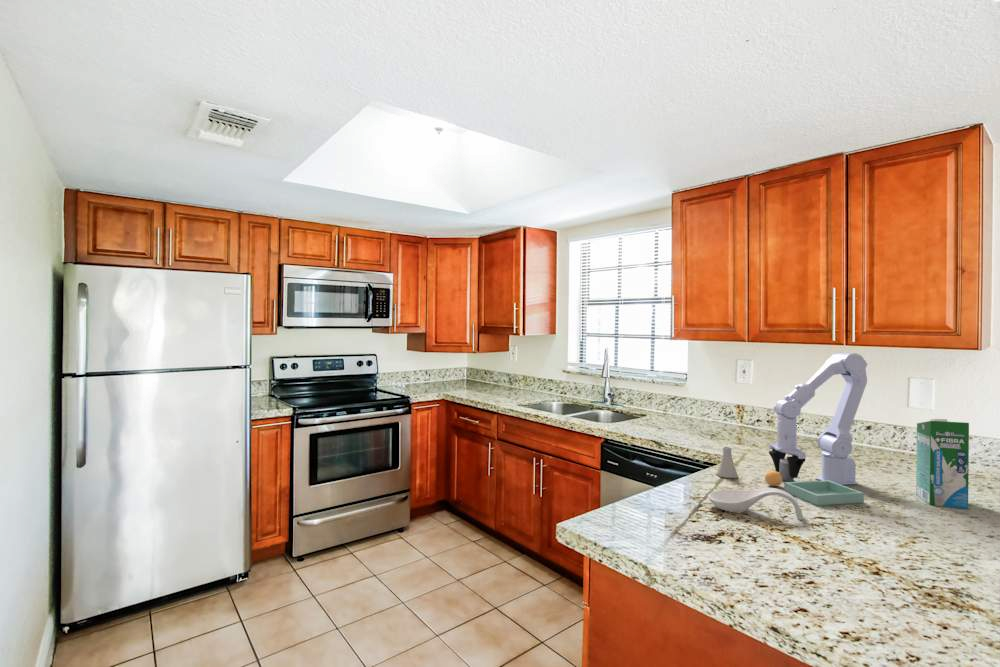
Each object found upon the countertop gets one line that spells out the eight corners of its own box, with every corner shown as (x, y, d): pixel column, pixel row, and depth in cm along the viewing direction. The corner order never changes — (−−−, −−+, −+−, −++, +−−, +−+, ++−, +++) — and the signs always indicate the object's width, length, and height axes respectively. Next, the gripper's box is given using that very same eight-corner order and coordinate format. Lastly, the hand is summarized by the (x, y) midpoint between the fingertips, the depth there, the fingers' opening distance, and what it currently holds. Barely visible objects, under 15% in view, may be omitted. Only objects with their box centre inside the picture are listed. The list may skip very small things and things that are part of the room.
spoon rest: (708, 513, 140) (708, 487, 140) (707, 500, 151) (707, 476, 151) (805, 526, 131) (806, 499, 131) (797, 511, 142) (797, 486, 142)
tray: (828, 489, 162) (828, 480, 162) (863, 503, 149) (863, 492, 149) (784, 491, 159) (784, 482, 159) (816, 505, 146) (817, 495, 146)
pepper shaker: (787, 478, 174) (787, 458, 174) (796, 482, 170) (797, 461, 170) (776, 478, 173) (776, 458, 173) (785, 482, 169) (785, 461, 169)
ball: (774, 483, 168) (774, 468, 168) (785, 488, 163) (785, 472, 163) (761, 484, 167) (761, 469, 167) (772, 488, 162) (772, 473, 162)
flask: (740, 479, 172) (741, 450, 172) (718, 478, 173) (718, 449, 173) (735, 473, 179) (735, 445, 179) (713, 472, 180) (714, 444, 180)
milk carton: (952, 499, 153) (952, 417, 153) (968, 509, 144) (969, 422, 144) (916, 495, 156) (916, 415, 156) (930, 505, 147) (930, 420, 147)
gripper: (761, 431, 178) (761, 469, 178) (792, 440, 163) (792, 481, 163) (779, 430, 179) (779, 468, 179) (811, 439, 165) (810, 480, 165)
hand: (786, 474), depth 171 cm, fingers open, 6 cm apart
